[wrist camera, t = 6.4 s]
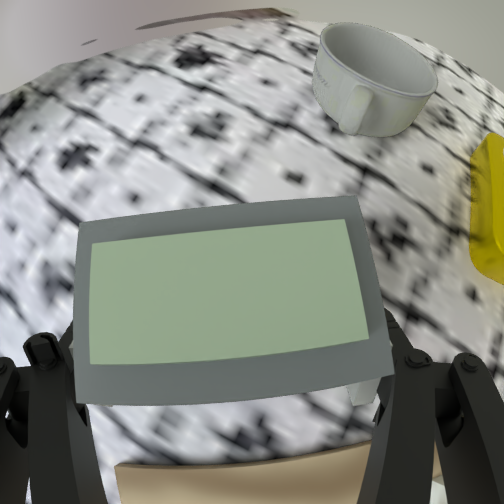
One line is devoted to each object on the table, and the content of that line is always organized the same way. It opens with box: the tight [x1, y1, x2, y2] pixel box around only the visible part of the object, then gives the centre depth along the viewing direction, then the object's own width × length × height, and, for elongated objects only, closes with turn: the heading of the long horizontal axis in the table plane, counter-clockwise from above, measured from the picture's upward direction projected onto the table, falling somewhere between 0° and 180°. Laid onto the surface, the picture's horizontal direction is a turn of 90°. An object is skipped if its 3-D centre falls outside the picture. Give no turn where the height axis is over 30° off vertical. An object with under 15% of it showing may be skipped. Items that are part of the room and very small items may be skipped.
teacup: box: [312, 23, 438, 137], centre depth 25 cm, size 14×11×8 cm
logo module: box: [73, 196, 395, 406], centre depth 13 cm, size 5×8×12 cm, turn 97°
